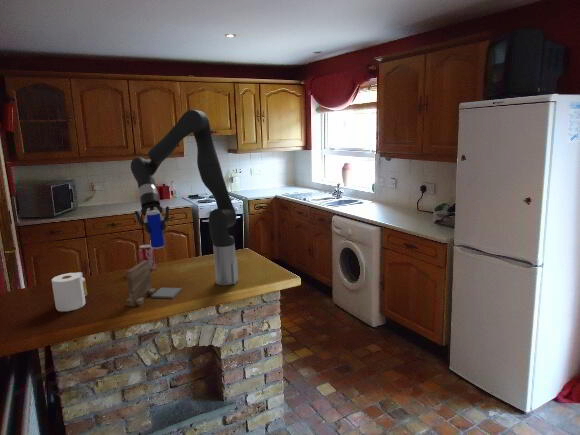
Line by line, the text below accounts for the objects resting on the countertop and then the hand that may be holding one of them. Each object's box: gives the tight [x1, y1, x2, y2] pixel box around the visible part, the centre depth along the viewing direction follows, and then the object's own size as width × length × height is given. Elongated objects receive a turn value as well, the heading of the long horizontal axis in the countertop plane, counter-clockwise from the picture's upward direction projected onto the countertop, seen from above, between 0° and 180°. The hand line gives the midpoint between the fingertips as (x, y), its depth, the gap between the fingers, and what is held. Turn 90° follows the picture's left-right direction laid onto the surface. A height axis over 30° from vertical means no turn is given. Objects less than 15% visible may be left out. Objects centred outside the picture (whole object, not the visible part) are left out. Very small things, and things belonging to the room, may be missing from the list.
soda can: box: [138, 243, 156, 272], centre depth 206 cm, size 7×7×12 cm
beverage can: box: [146, 210, 166, 250], centre depth 171 cm, size 5×5×15 cm
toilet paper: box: [51, 272, 87, 312], centre depth 166 cm, size 10×10×12 cm
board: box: [125, 260, 157, 307], centre depth 170 cm, size 6×14×14 cm, turn 171°
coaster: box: [151, 287, 182, 299], centre depth 176 cm, size 9×9×1 cm
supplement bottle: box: [76, 271, 88, 297], centre depth 176 cm, size 5×5×10 cm
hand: (156, 230), depth 169 cm, fingers closed on beverage can, 5 cm apart
